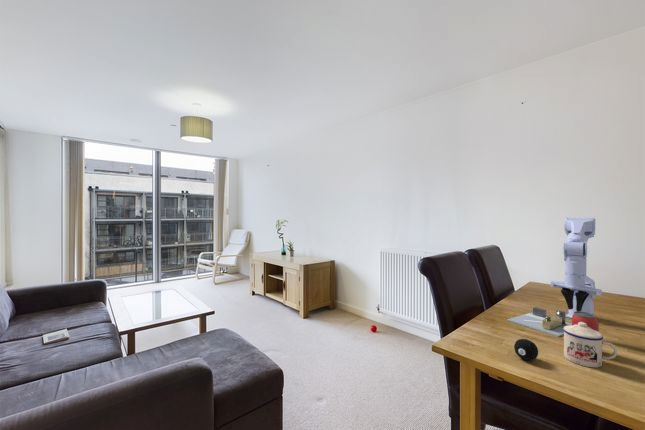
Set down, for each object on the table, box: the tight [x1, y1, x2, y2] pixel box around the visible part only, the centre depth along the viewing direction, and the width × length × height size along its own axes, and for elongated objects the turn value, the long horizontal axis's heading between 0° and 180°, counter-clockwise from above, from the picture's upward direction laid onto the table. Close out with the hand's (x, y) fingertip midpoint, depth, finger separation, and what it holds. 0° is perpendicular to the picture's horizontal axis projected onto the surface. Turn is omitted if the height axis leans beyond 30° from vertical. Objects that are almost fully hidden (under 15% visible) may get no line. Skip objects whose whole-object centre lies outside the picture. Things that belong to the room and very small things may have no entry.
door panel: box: [506, 312, 572, 338], centre depth 116 cm, size 19×18×1 cm
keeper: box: [532, 307, 547, 318], centre depth 124 cm, size 2×4×3 cm, turn 28°
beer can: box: [571, 311, 600, 333], centre depth 93 cm, size 7×7×12 cm
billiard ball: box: [513, 338, 539, 361], centre depth 87 cm, size 6×6×6 cm
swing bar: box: [542, 315, 562, 329], centre depth 111 cm, size 10×2×4 cm, turn 118°
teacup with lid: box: [563, 322, 618, 368], centre depth 86 cm, size 12×9×12 cm
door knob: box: [555, 310, 567, 326], centre depth 115 cm, size 4×4×5 cm
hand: (574, 310), depth 105 cm, fingers closed
